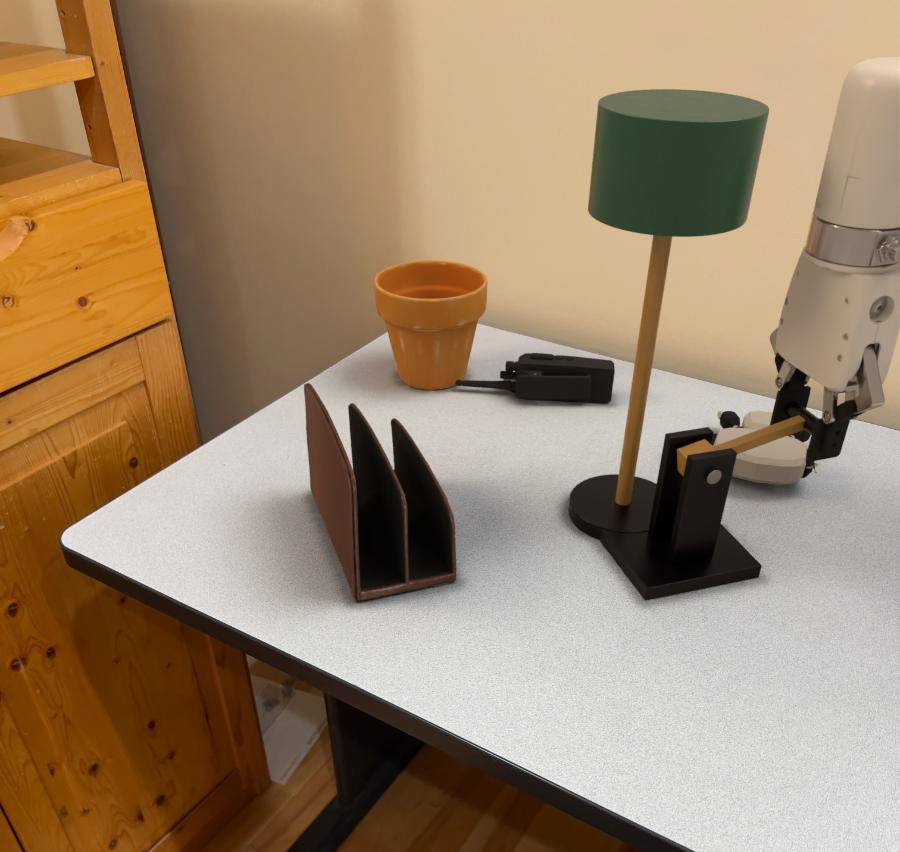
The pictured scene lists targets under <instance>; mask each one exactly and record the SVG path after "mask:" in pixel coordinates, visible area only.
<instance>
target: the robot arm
mask: <svg viewBox="0 0 900 852" xmlns="http://www.w3.org/2000/svg"><path fill="white" fill-rule="evenodd" d="M826 149H827V150H826V154H825V158H824V163H823V167H822V171H821V176H820V179H819V180H820V181H819V185H818V189H817V193H816V198H815V202H814V206H813V211H812V214H811V218H810V223H809V227H808V232H807V236H806V240H805V244H804V246H803V248H802V251H801V253H800V254H799V255H800V256H799V258H798V260H797V261H796V262H797V263H796V264H795V268H794V270H793V273H792V276H791V279H790V281H789V286H788V288H787V292H786V294H785V298H784V302H783V306H782V309H781V312H780V317H779V320H778V325H777V327H776V328H775V329H774V330H773V331H772V332H771V333H770V335H769V342H770V345H771V348H772V351H773V354H774V364H775V368H776V371H777V375H776V377H775V381H774V385H775V387H776V389H778V390H777V393H776V397H775V401H774V404H773V411H772V412H771V413H772V418H771V422H770V426H771V425H773V424H776V423H779V422H781V421H784V420H787V419H790V418H789V417H788V416H787V415H786V414H785V412H784V410H785V407H786V406H787V404H789V403H790V402H793V401H795V402H797V403H799V404H800V405H801V406H803V407H804V408H805V409H807V407H808V404H809V400H810V396H811V390H812V387H811V386H809V385H807V384H808V383H809V382H810V379H812V380H813V381H815V382H817V383H818V384H819V385H820V386H822V387H823V396H822V397H823V398H822V411H821V412H822V414H821V417H820V418H819V419H816V421H815V424H814V428H813V431H812V435H811V436H810V438H809V442H808V445H807V449H808V450H807V454H806V458H807V459H808V460H810V461H815V462H817V461H822V460H823V461H824V460H827V459H833V458H837V457H840V454H841V452H842V450H843V445H844V442H845V440H846V436H847V432H848V428H849V425H850V423H851V421H853V420H856V419H857V418H858V416H861V415H863V414H865V413H866V412H869V411H872V410H874V409H877V408H880V407H883V405H884V404H885V402H886V401H885V399H886V398H885V394H884V389H883V384H884V383H885V381H886V379H887V376H888V374H889V369H890V367H891V364H892V361H893V357H894V353H895V348H896V345H897V340H898V336H899V332H900V56H885V57H884V56H883V57H882V56H881V57H873V58H868V59H865V60H862V61H859V62H858V63H857V64H855V65H853V67H851V68H850V70H849V71H848V72H847V74H846V75H845V77H844V80H843V82H842V86H841V89H840V92H839V98H838V102H837V106H836V111H835V115H834V119H833V123H832V127H831V132H830V136H829V141H828V146H827V148H826ZM839 394H845V395H844V401H843V402H842V403H840V404H838V401H839V400H838V397H839Z"/></svg>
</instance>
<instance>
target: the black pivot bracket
mask: <svg viewBox="0 0 900 852" xmlns="http://www.w3.org/2000/svg"><path fill="white" fill-rule="evenodd" d="M713 434H715V433H714V430H712V429H711V427H709V426H706V427H699V428H693V429H687V430H681V431H680V430H679V431H674V432H673V431H672V432H668V433H665V434H664V441H663V445H662V451H661V456H660V462H659V466H658V467H659V468H658V474H657V479H656V490H655V496H654V501H653V507H652V513H651V518H650V524H649V530H648V531H647V532H638V533H624V532H616V531H610V530H606V529H601V535H600V540H599V542H600V544H601V545H602V546H603V548H604V549H605V550H606V551H607V553H608V554H609V555H610V557H611V558H612V560H613V561H614V562H615V563H616V565H617V566H618V567H619V568H620V570H621V572H623V574H624V576H625V577H626V578H627V579H628V581H629V582H630V583H631V585H632V586H633V587H634V589H635V590H636V591H637V592H638V594H639V595H640V596H641V598H642V599H643V600H644V601H645V602H647V601H651V600H657V599H661V598H667V597H672V596H676V595H681V594H685V593H691V592H697V591H701V590H706V589H711V588H715V587H721V586H726V585H731V584H734V583H735V584H736V583H740V582H744V581H749V580H754V579H759V578H760V574H761V570H762V569H763V565H762V564H761V563H760V562H759V561H758V560H757V559H756V558H755V557H754V556H753V555H752V554H751V552H750V551H749V550H748V549H746V547H744V545H743V544H742V543H741V542H740V541H739V540H738V539H737V538H736V537H735V536H734V535H733V534H732V533H731V532H730V531H729V530H728V529H727V528H726V527H725V526H724V525H723V524H722V520H723V515H724V511H725V506H726V503H727V498H728V495H729V489H730V486H731V481H732V474H733V469H734V465H735V461H736V457H737V452H736V451H735V450H733V449H732V448H728V449H722V450H716V451H710V452H704V453H697V454H691V455H688V456H687V460H686V466H685V471H684V476H683V475H682V474H681V473H680V472H679V471H678V462H677V449H679V448H682V447H684V446H687V445H690V444H693V443H695V442H698V441H701V440H703V439H705V440H707V441H708V442H709V443H710V444H711V442H712V438H713Z"/></svg>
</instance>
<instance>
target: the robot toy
mask: <svg viewBox="0 0 900 852" xmlns="http://www.w3.org/2000/svg"><path fill="white" fill-rule="evenodd" d="M772 413H773V412H770V411H764V410H754V411H749V412H748V413H747V414H745V415H744V416H743V419H742V422H741V418H740V416H739V415H738V414H737V412H735V411H733V410H725V411H723V410H718V411H717V418H718V420H719V425H720V427H721V428H720V429H719V430H718V432H717V433H713V438H712V442H711V445H712V446H716V445H719V444H722V443H724V442H727V441H730V440H733V439H735V438H738V437H741V436H743V435H746V434H749V433H752V432H754V431H757V430H760V429H762V428H765V427H768V426H770V422H771V418H772ZM810 439H811V434H810V433H809V432H808V431H806V430H805V429H804V430H801V431H799V432H796V433H793V434H791V435H788V436H785V437H783V438H780V439H777V440H774V441H772V442H769V443H766V444H764V445H761V446H758V447H755V448H753V449H750V450H747V451H745V452H742V453H739V454H737V457H736V461H735V465H734V469H733V474H732V477H734V478H737V479H741V480H745V481H749V482H753V483H762V484H769V485H773V486H781V485H786V486H787V485H791V484H792V485H793V484H796V483H799V482H800V481H801V479H806V478H807V477H809V475H810V474H811V473H812V472H813V473H814V474H818V471H819V469H818V462H816V461H810V460H808V459H807V458H806V454H807V450H808V445H807V444H806V442H807V441H810ZM813 470H814V471H813Z"/></svg>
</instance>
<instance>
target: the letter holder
mask: <svg viewBox="0 0 900 852" xmlns="http://www.w3.org/2000/svg"><path fill="white" fill-rule="evenodd" d="M303 395H304V396H303V397H304V408H305V430H306V431H305V432H306V447H307V457H308V459H307V460H308V470H309V471H308V472H309V488H310V492H311V496H312V498H313V500H314V502H315V505H316V507H317V509H318V511H319V514H320V517H321V519H322V521H323V524H324V527H325V530H326V532H327V534H328V538H329V539H330V543H331V545H332V547H333V550H334V551H335V554H336V557H337V559H338V562H339V564H340V566H341V569H342V572H343V574H344V576H345V579H346V582H347V584H348V586H349V589H350V593H351V595H352V598H353V600H354V602H355V603H357V604H359V603H361V602H364V601H365V602H366V601H369V600H372V599H377V598H382V597H387V596H392V595H397V594H403V593H408V592H412V591H416V590H422V589H426V588H431V587H437V586H441V585H446V584H451V583H455V582H456V581H457V575H458V573H457V549H456V548H457V544H456V543H457V542H456V522H455V516H454V512H453V509H452V507H451V504H450V502H449V499H448V497H447V495H446V493H445V492H444V490H443V488H442V486H441V484H440V482H439V481H438V478H437V477H436V475H435V474H434V472H433V470H432V468H431V466H430V464H429V463H428V461H427V460H426V458H425V456H424V455H423V453H422V452H421V450H420V449H419V447H418V445H417V444H416V442H415V441H414V439H413V438H412V436H411V434H410V433H409V431H408V430H407V429H406V427H405V426H404V425H403V424H402V423H401V422H400V420H398V419H397V418H396V417H393V418H392V419H390V428H391V441H392V443H391V444H392V455H393V466H392V464H391V462H390V459H389V457H388V456H387V454H386V451H385V449H384V447H383V446H382V444H381V442H380V441H379V439H378V437H377V435H376V433H375V432H374V430H373V428H372V426H371V424H370V423H369V421H368V420H367V418H366V417H365V415H364V414H363V413H362V411H361V409H360V408H359V407H358V406H357V405H356V403H353V402H351V403H349V405H348V406H347V411H348V424H349V425H348V426H349V438H350V451H351V460H350V459H349V456H348V453H347V450H346V448H345V447H344V444H343V442H342V439H341V436H340V434H339V432H338V430H337V428H336V426H335V424H334V421H333V419H332V417H331V415H330V413H329V411H328V409H327V407H326V406H325V404H324V402H323V401H322V398H321V397H320V395H319V394H318V393H317V391H316V389H315V388H314V386H313V385H312V384H311V383H310V382H307V383H304V384H303ZM393 467H394V468H393Z"/></svg>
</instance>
